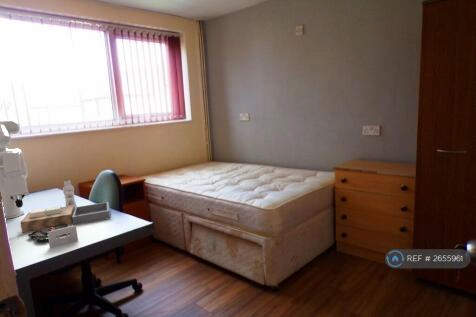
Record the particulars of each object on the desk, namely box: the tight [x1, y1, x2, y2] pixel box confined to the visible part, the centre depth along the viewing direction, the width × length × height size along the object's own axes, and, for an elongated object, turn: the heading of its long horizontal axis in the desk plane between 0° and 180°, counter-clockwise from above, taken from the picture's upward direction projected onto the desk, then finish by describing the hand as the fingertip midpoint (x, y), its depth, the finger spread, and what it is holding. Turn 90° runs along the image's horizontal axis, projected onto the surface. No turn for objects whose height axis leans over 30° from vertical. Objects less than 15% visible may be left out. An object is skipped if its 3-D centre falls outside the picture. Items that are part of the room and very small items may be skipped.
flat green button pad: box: [27, 224, 70, 243], centre depth 166 cm, size 18×18×5 cm
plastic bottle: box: [62, 179, 78, 209], centre depth 207 cm, size 6×7×20 cm
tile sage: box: [46, 205, 62, 215], centre depth 186 cm, size 7×7×2 cm
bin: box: [72, 201, 111, 226], centre depth 194 cm, size 19×22×4 cm
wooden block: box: [20, 205, 75, 234], centre depth 186 cm, size 24×20×6 cm
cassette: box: [47, 224, 79, 249], centre depth 153 cm, size 12×2×8 cm, turn 125°
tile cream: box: [30, 207, 48, 218], centre depth 183 cm, size 7×7×2 cm
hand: (19, 207), depth 179 cm, fingers closed
